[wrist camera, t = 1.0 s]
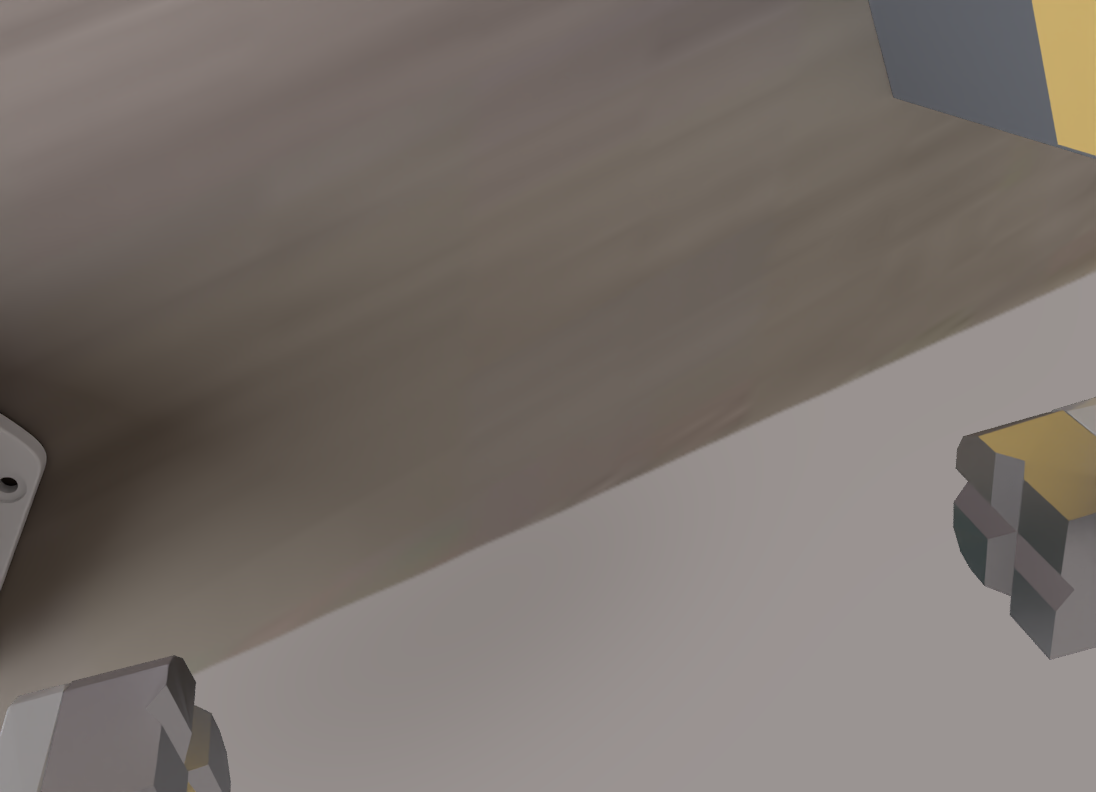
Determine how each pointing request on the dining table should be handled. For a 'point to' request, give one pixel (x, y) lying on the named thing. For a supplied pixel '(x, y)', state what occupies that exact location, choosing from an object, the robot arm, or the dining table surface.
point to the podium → (969, 62)
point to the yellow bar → (1070, 68)
